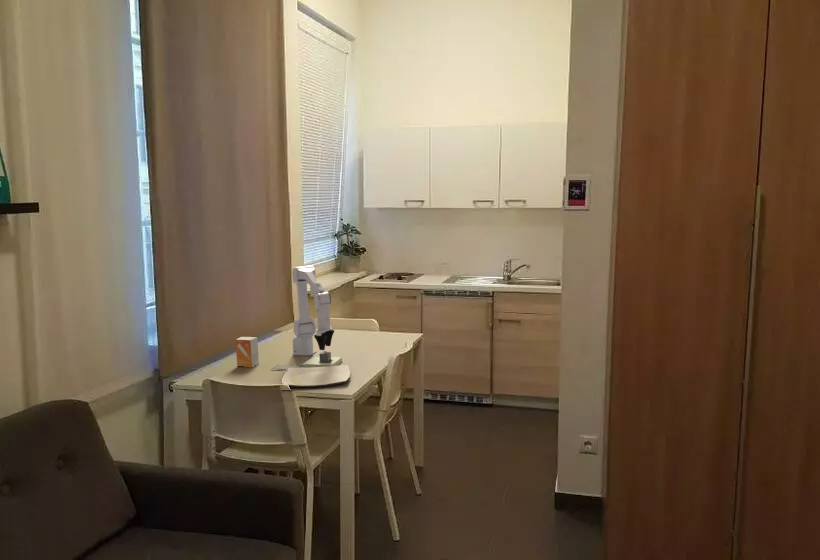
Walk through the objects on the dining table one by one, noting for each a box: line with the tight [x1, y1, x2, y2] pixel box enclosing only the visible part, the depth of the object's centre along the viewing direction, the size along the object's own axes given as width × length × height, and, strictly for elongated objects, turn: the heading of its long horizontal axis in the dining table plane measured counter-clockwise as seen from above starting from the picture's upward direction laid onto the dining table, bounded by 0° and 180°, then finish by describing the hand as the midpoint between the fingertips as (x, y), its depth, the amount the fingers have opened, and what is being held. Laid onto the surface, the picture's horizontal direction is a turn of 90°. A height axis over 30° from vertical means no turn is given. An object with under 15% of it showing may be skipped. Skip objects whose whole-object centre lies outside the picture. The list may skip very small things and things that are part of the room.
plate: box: [281, 364, 351, 388], centre depth 289 cm, size 29×29×3 cm
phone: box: [271, 364, 303, 371], centre depth 309 cm, size 13×7×1 cm, turn 75°
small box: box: [235, 336, 260, 368], centre depth 316 cm, size 8×6×13 cm
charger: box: [318, 350, 332, 363], centre depth 311 cm, size 4×4×7 cm
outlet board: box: [302, 355, 343, 368], centre depth 313 cm, size 14×14×2 cm
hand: (325, 347), depth 310 cm, fingers open, 7 cm apart
